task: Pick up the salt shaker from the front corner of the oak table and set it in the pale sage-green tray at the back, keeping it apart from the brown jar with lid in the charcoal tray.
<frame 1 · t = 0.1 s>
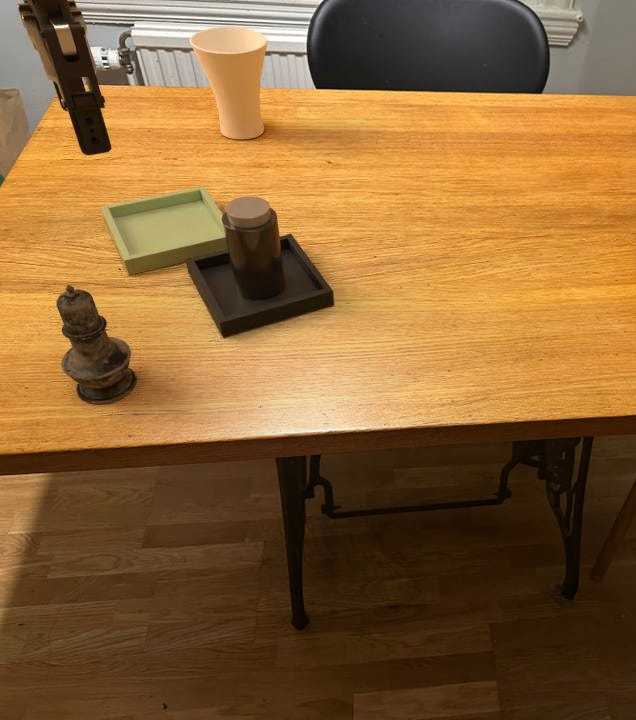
hand: (86, 129, 58), 22 cm above the table, tool pointing down, fingers open, 8 cm apart
cup: (242, 131, 108), on the table
dark tray: (260, 289, 80), on the table
light tray: (170, 234, 86), on the table
brown jar with lid: (260, 285, 79), point 1 cm above the table, touching dark tray
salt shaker: (107, 385, 67), on the table
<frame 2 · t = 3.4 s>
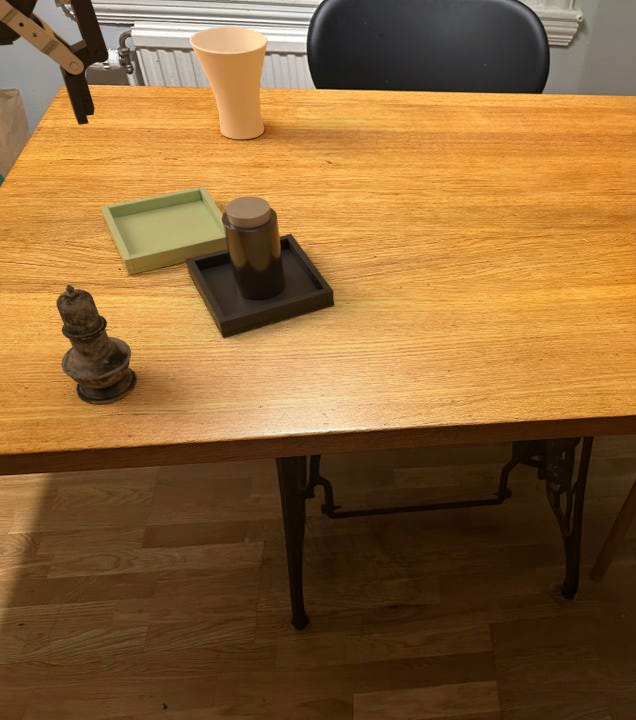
hand: (18, 128, 51), 25 cm above the table, tool pointing down, fingers open, 8 cm apart
nothing on the table moved.
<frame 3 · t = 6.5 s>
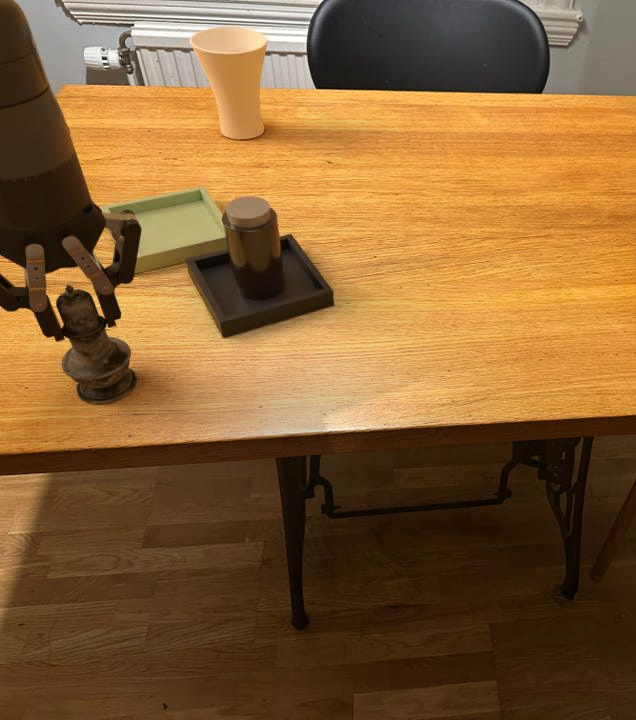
hand: (85, 327, 62), 7 cm above the table, tool pointing down, fingers closed on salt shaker, 3 cm apart
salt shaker: (107, 385, 67), on the table, touching gripper
everything else where it was.
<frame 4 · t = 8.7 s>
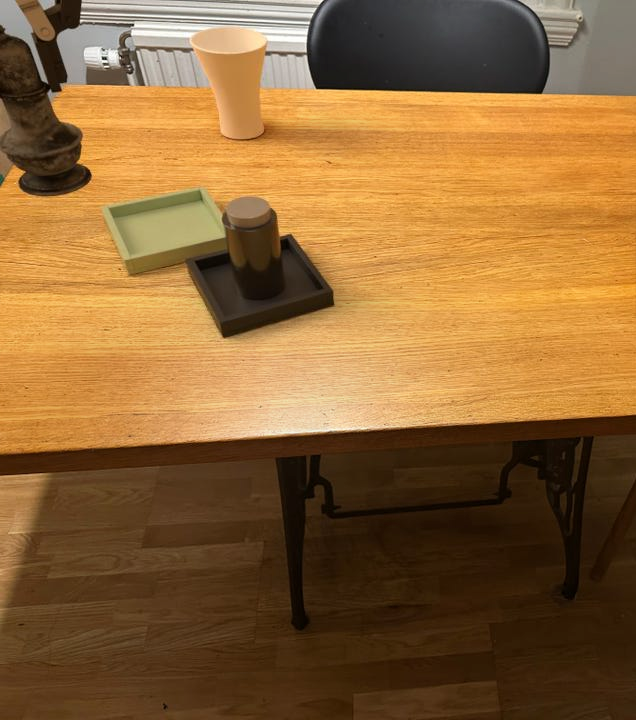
hand: (23, 91, 51), 27 cm above the table, tool pointing down, fingers closed on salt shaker, 3 cm apart
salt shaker: (56, 181, 56), point 20 cm above the table, touching gripper
everything else where it was.
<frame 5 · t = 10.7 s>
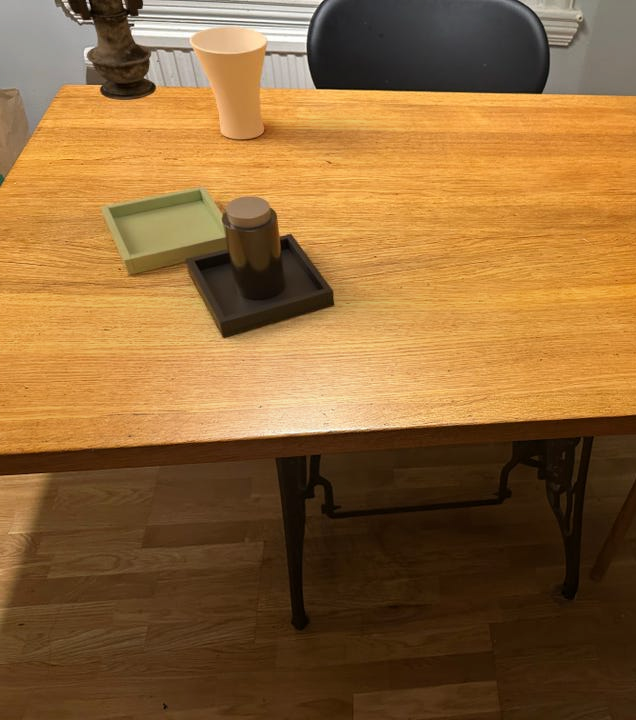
hand: (109, 14, 67), 26 cm above the table, tool pointing down, fingers closed on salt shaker, 3 cm apart
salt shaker: (128, 91, 72), point 19 cm above the table, touching gripper
everything else where it was.
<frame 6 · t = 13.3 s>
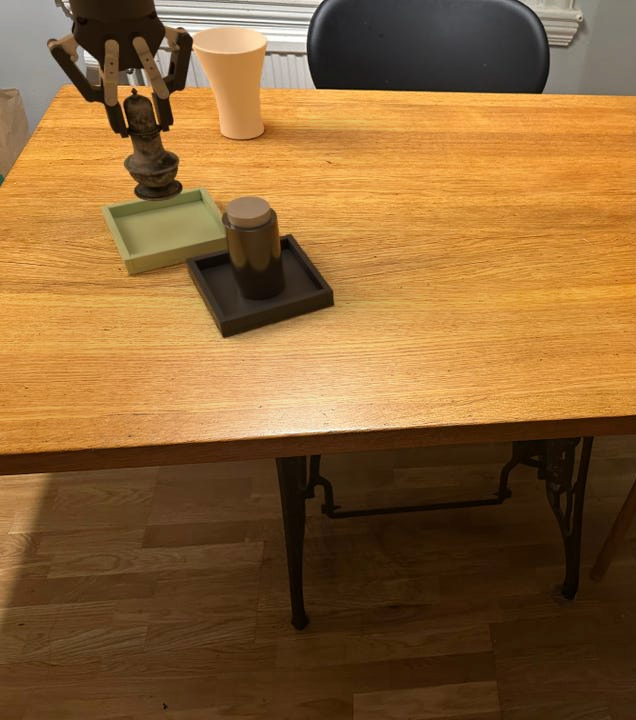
hand: (144, 131, 77), 14 cm above the table, tool pointing down, fingers closed on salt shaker, 3 cm apart
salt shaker: (159, 191, 82), point 6 cm above the table, touching gripper
everything else where it was.
when the fingers open (8 cm above the table, at t = 15.1 s): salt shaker stays where it is, resting on light tray.
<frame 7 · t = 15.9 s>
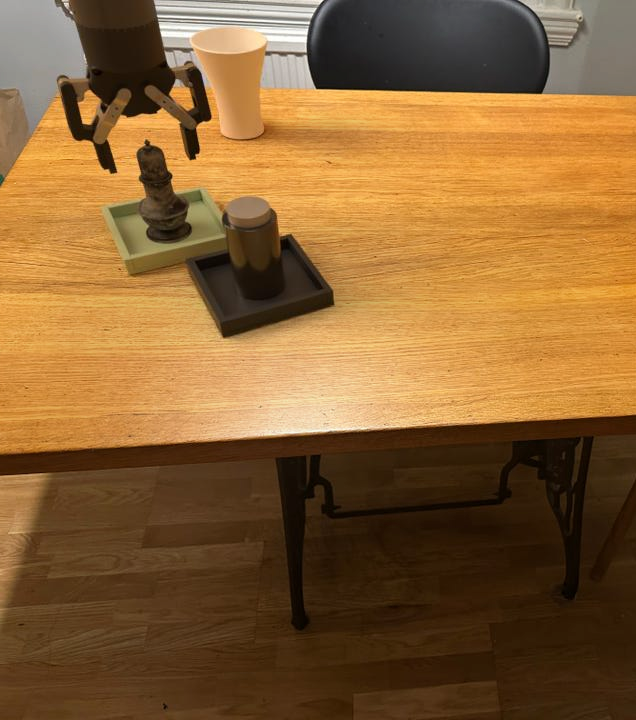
hand: (152, 163, 79), 10 cm above the table, tool pointing down, fingers open, 8 cm apart
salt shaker: (169, 232, 86), resting on light tray
everything else where it was.
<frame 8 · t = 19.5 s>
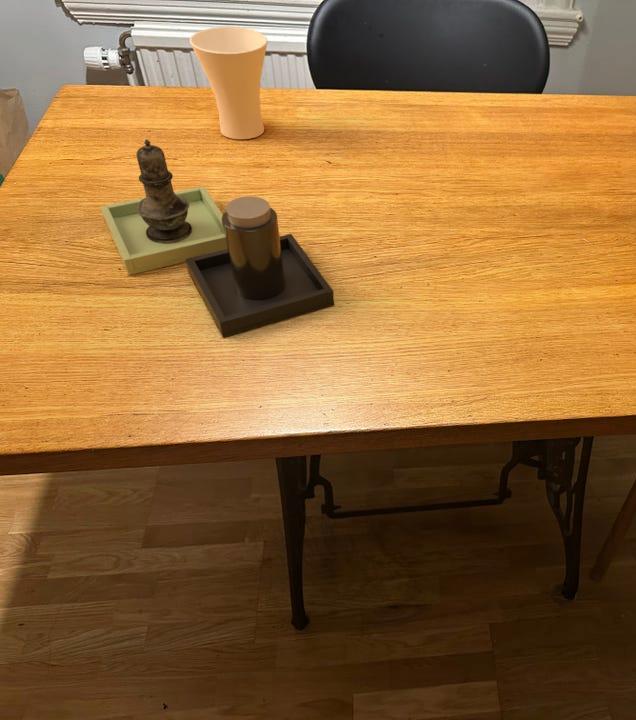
nothing on the table moved.
at the end: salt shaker inside the target area in the light tray (0.1 cm from its centre), point 0.4 cm above the light tray's base; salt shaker tilted 0°; brown jar with lid inside the target area in the dark tray (0.0 cm from its centre), point 0.6 cm above the dark tray's base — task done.
